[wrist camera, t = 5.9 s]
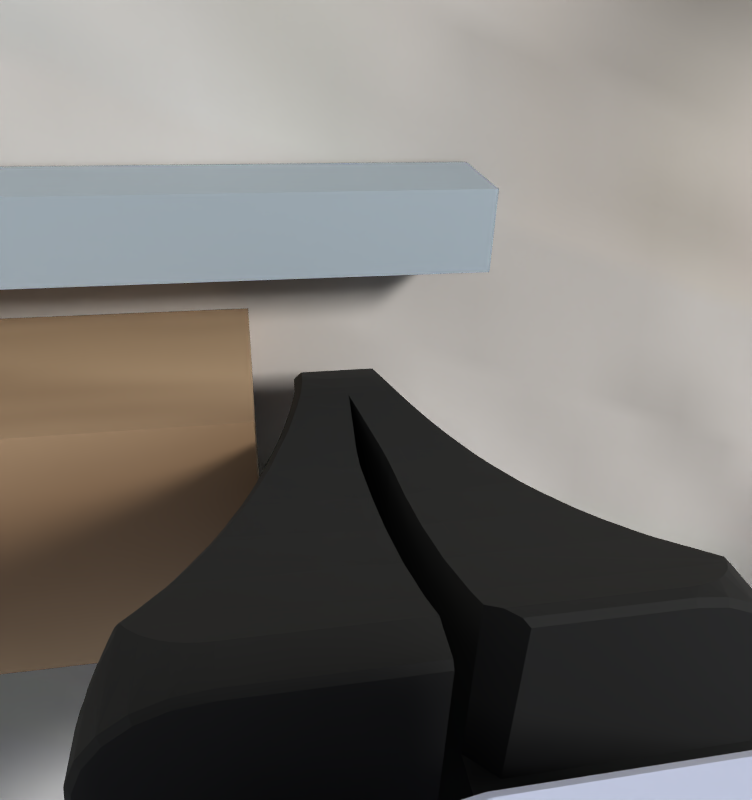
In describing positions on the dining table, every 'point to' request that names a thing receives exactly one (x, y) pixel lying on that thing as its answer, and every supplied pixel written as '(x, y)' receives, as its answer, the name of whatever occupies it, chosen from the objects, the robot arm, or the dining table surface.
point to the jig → (241, 222)
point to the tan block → (113, 468)
